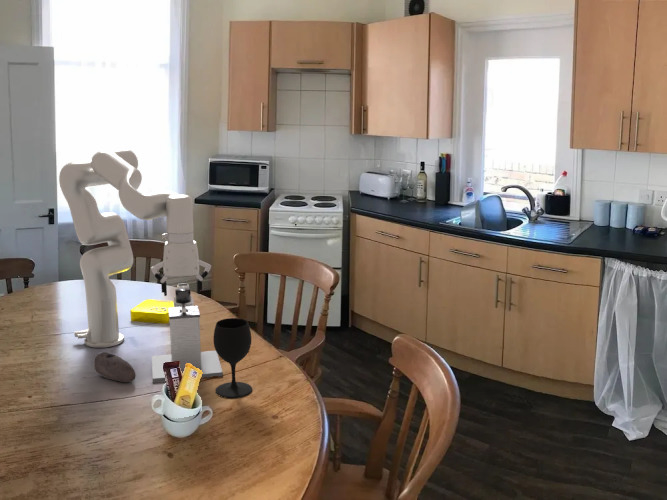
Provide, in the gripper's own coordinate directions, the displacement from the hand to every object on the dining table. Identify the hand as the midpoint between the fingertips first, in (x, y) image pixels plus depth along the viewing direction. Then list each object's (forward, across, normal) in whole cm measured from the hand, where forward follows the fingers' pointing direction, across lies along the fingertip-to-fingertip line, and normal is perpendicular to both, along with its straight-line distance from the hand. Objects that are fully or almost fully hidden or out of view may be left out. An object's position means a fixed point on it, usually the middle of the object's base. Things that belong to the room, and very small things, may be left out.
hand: (182, 293), depth 218 cm
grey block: (+22, 0, +1) cm, 22 cm away
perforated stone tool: (+24, -19, -5) cm, 31 cm away
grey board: (+23, 0, -1) cm, 23 cm away
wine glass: (+23, +12, -21) cm, 33 cm away
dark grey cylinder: (+18, 0, -1) cm, 18 cm away
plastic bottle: (+24, +2, +20) cm, 31 cm away
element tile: (+25, -7, +51) cm, 57 cm away
